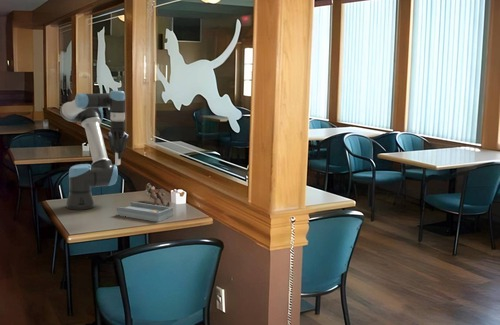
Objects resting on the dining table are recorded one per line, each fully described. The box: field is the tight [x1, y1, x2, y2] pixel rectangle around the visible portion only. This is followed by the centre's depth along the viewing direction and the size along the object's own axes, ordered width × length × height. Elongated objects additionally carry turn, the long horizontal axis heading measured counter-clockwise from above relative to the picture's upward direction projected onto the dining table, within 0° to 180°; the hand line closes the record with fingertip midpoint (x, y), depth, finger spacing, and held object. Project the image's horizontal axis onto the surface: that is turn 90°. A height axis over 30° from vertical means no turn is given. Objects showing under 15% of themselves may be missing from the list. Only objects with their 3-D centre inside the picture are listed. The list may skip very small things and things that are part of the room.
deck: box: [116, 201, 174, 223], centre depth 310 cm, size 26×14×4 cm, turn 67°
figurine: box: [145, 182, 170, 207], centre depth 335 cm, size 11×10×30 cm
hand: (117, 164), depth 309 cm, fingers closed
